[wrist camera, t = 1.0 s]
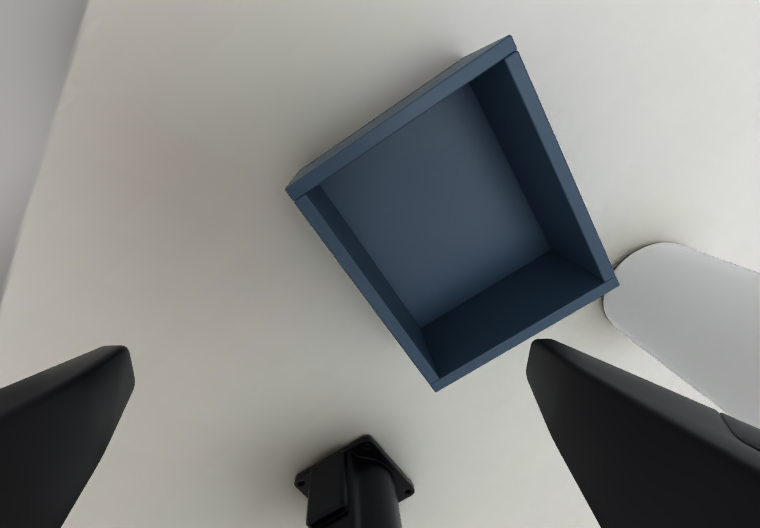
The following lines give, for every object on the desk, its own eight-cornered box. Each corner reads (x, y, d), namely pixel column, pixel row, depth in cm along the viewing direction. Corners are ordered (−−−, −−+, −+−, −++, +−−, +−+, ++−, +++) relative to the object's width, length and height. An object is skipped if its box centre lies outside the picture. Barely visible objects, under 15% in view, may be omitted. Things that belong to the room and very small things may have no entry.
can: (583, 279, 24) (787, 415, 13) (677, 219, 24) (979, 310, 12) (621, 348, 27) (823, 515, 15) (708, 295, 26) (990, 431, 15)
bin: (558, 248, 24) (620, 285, 18) (415, 335, 25) (435, 393, 20) (465, 56, 19) (511, 33, 14) (298, 171, 21) (284, 189, 15)
